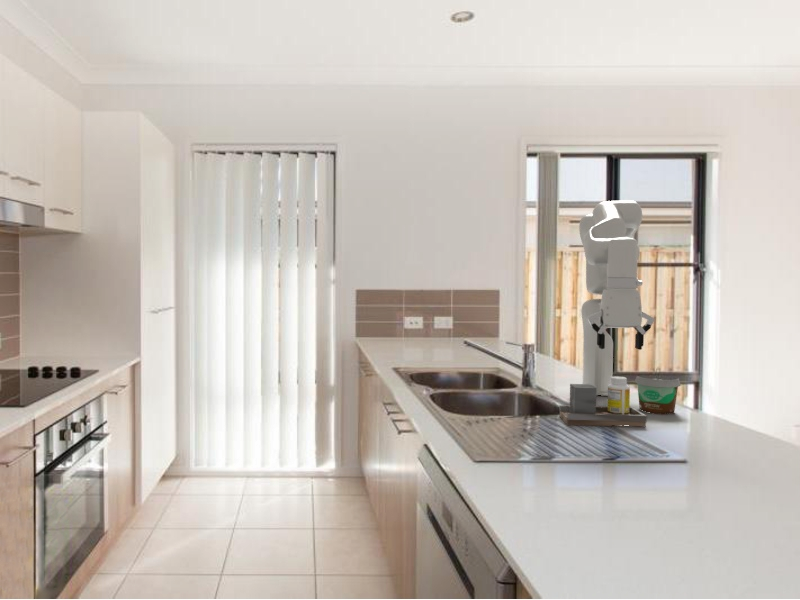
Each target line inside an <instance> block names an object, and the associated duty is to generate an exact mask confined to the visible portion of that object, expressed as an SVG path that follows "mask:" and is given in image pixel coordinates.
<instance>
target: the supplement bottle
mask: <svg viewBox="0 0 800 600" xmlns="http://www.w3.org/2000/svg"><path fill="white" fill-rule="evenodd" d="M611 383H612V384H609V385H608V396H607V406H608V408H607V412H608V414H627V415H629V407H630V402H631V401H630V399H631V398H630V396H631V395H630V393H631V391H630V390H631V387H630V386H629V385H628V379H627V377H625V376H618V375H617V376H612V377H611Z"/></svg>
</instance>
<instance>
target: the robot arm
mask: <svg viewBox="0 0 800 600" xmlns="http://www.w3.org/2000/svg"><path fill="white" fill-rule="evenodd" d="M642 210H643V209H642V207H641V205H640V204H639V203H638V202H636V201H634V200H611V201H610V200H608V201H607V200H606V201H602V202H599V203H598V204H596V206H594V208H593V210H592V213H590V214H586V215H584V216H582V217H581V218H580V220H579V227H578V228H579V229H578V230H579V236H580V240H581V243H582V244H581V245H582V246H583V250H584V256H585V260H586V261H585V285H586V290H587V292H588V293H589V294H591V295H593V296H594V295H596V296H597V295H598V296H601V298H591V299H588V300H586V301H584V302H583V304H582V305H581V309H580V311H581V321H582V330H583V333H582V334H583V341H582V342H583V344H582V345H583V348H582V349H583V350H582V351H583V352H582V356H583V357H582V384H591V385H593V386H594V387H596V396H598V395H601V397H602V396H603V397H604V396H605V397H608V385H609V384H612V383H611V377H613V371H614V369H613V363H614V358H613V357H614V341H613V338H612V337H611V335H610V334H609V333H608V331H606V330H607V329H610V328H614V329H616V328H617V329H629V328H634V330H635V331H636V333H635V336H634V337H635V338H634V340H635V342H634V343H635V345H634V348H635V349H637V350H640V351H641V350H642V349H643V347H644V341H645V340H644V339H645V338H644V337H645V335H646V333H647V332H648V331H649V330H650V329H651V328H652V326H653V324H654V322H655V320H656V319H655V317H653V316H651V315H649V314H647V313H645V312H643V310H642V299H641V292H640V290H638V287H639V286H643V280H639V278H638V261H639V259H640V255H641V254H640V245H639V242H638V241H637V239H635V238H632V237H634V236H635V234H636V232H638V230H639V228H640V226H641V224H642V221H643V211H642ZM643 319H644V320H646V323H645V324H644V325H643V326H642V322H643V321H642V320H643Z"/></svg>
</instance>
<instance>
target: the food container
mask: <svg viewBox="0 0 800 600" xmlns="http://www.w3.org/2000/svg"><path fill="white" fill-rule="evenodd" d="M634 384H637V394H638V405H639V410H640V409H641V410H643V411H646V412H645V413H647V412H650V413H649V414H652V413H654V415H672V414H675V412H676V411H675V409H676V402H677V396H678V389H679V387H681V381H680V378H676V379H662V378H647V377H642V376H638V375H636V377H635V381H634ZM641 410H640V411H641ZM643 411H642V412H643Z"/></svg>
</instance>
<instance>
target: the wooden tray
mask: <svg viewBox="0 0 800 600" xmlns="http://www.w3.org/2000/svg"><path fill="white" fill-rule="evenodd" d="M607 408H608V405H607V406H605V405H602V406H601V405H597V395H596V387H594V386H593V385H591V384H583V383H570V384H569V404H568V405H565V404H564V405H563V404H561V405H559V407H558V409H559V417H560V418H561V419H562V420H563V422H564V423H565V424H566V425H567V426H588V427H589V426H590V427H591V426H592V427H596V426H597V427H612V426H611V425H615V426H614V427H618V426H617V425H622V426H621V427H625V426H624V425H629V426H645V427H644V428H646V427H647V421H648V420H647V419H648V418H647V417H648V416H647V414H644V413H643V412H642V411H641V410H640V411H639V410H638V409H637V408H635V407H634V406H629V415H627V414H608V412H607Z"/></svg>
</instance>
